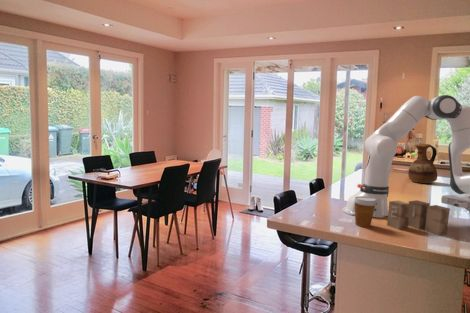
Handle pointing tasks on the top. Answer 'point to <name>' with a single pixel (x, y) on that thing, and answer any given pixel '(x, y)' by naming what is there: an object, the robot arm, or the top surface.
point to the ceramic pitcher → (423, 166)
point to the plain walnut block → (437, 220)
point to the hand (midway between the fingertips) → (456, 204)
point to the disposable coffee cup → (364, 210)
